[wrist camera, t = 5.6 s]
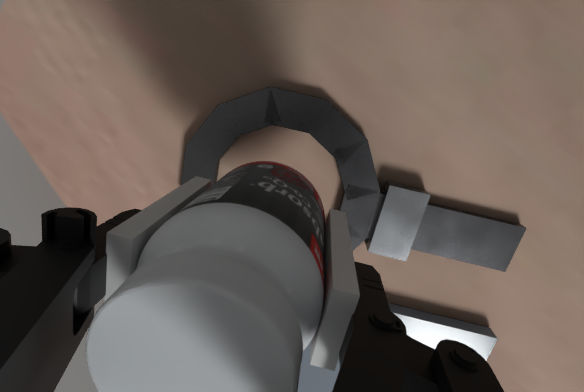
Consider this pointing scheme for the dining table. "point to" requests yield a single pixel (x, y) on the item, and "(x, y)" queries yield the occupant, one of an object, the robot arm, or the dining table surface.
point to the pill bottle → (219, 292)
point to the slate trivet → (420, 327)
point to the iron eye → (357, 183)
